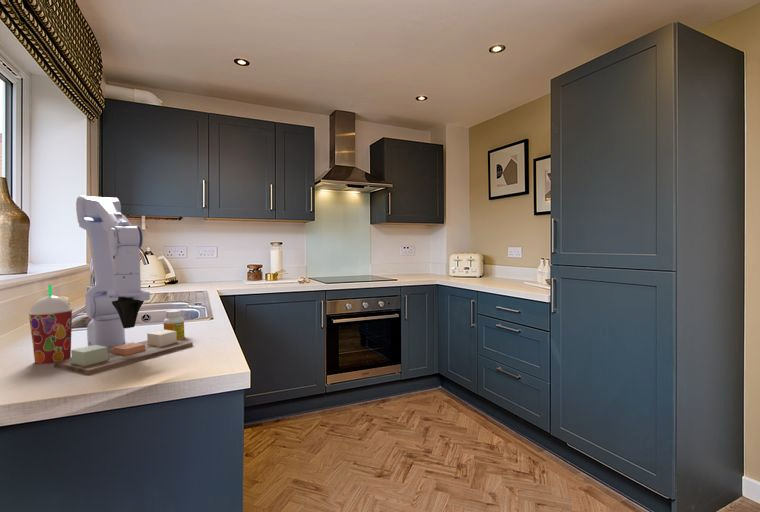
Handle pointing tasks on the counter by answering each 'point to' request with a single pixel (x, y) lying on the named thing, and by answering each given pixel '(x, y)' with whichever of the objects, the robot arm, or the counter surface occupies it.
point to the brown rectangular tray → (122, 358)
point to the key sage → (89, 355)
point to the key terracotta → (128, 348)
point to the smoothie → (51, 329)
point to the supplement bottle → (174, 323)
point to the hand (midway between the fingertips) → (128, 327)
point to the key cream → (162, 338)
